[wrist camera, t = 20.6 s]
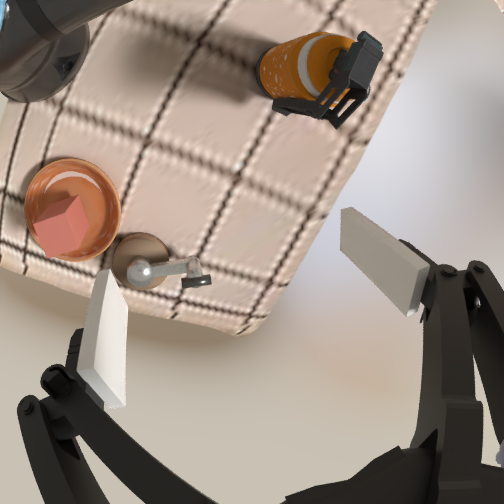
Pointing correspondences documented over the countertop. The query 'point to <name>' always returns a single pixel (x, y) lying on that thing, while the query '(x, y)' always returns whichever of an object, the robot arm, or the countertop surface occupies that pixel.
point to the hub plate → (138, 247)
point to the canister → (319, 74)
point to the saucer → (93, 201)
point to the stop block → (62, 226)
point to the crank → (166, 271)
